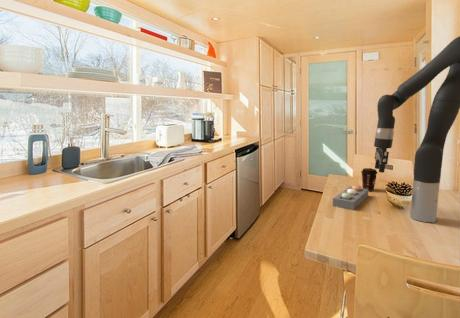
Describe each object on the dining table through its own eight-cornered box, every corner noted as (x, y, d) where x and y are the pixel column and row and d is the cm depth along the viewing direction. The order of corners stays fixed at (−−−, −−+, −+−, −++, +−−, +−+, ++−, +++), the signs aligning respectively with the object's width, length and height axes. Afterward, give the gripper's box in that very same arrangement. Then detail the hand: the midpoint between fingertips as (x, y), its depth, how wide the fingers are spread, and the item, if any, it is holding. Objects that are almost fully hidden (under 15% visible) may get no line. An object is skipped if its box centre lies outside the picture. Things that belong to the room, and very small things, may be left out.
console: (368, 196, 151) (368, 189, 150) (353, 210, 130) (353, 202, 129) (349, 193, 158) (349, 186, 157) (332, 205, 137) (333, 198, 136)
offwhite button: (357, 194, 144) (357, 189, 143) (354, 196, 140) (355, 191, 140) (348, 193, 146) (348, 188, 146) (346, 194, 143) (346, 190, 143)
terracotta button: (361, 190, 150) (362, 186, 150) (359, 192, 147) (359, 187, 147) (353, 189, 153) (353, 184, 153) (351, 191, 150) (351, 186, 149)
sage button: (352, 198, 137) (352, 193, 136) (349, 200, 133) (349, 195, 133) (343, 197, 140) (343, 192, 139) (340, 199, 136) (340, 194, 136)
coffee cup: (372, 188, 166) (374, 167, 164) (378, 192, 158) (380, 170, 156) (358, 188, 167) (359, 167, 165) (363, 191, 159) (364, 170, 157)
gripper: (397, 139, 120) (391, 174, 123) (388, 136, 133) (384, 168, 137) (378, 138, 122) (373, 172, 125) (372, 135, 136) (367, 166, 139)
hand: (379, 170), depth 131 cm, fingers open, 8 cm apart
